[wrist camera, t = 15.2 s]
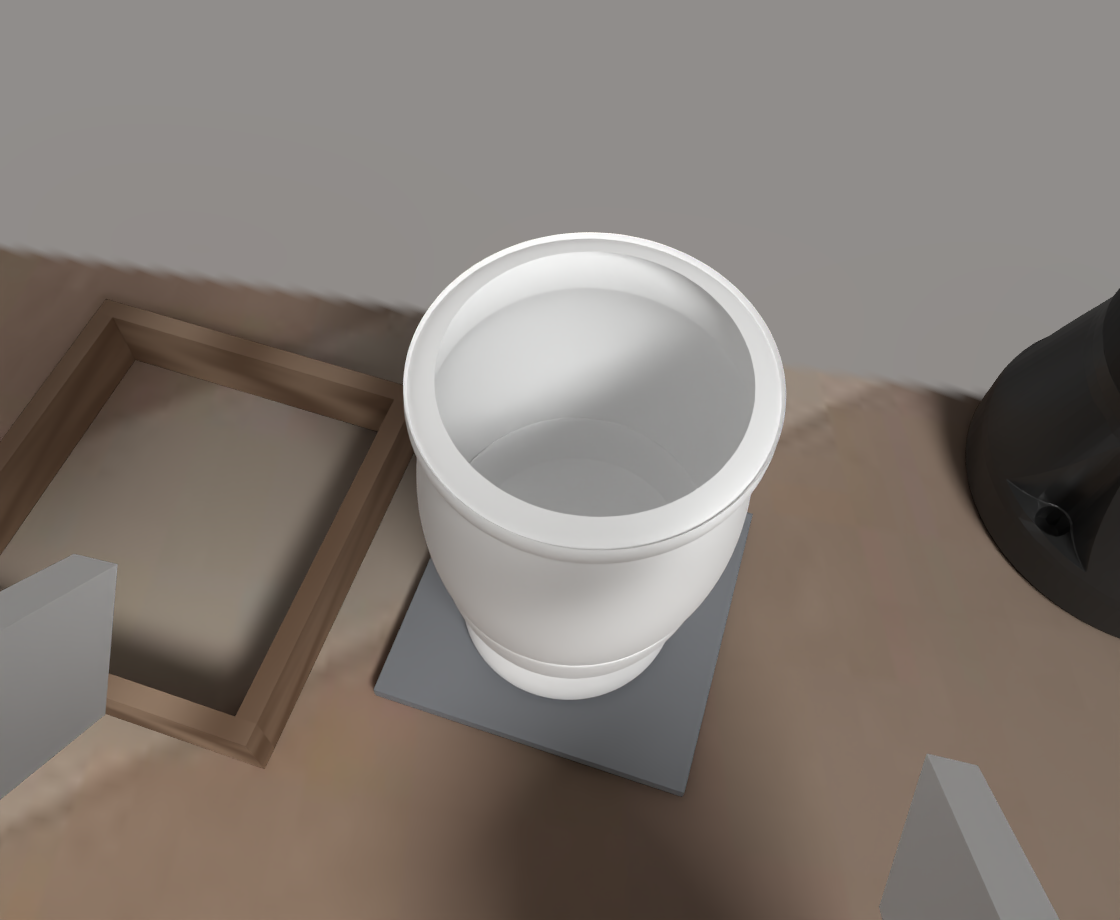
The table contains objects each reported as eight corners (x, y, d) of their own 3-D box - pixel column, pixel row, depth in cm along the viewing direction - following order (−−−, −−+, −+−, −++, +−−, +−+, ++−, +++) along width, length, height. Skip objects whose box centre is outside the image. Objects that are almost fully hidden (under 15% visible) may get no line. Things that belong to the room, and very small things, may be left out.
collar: (424, 429, 44) (419, 389, 41) (264, 769, 36) (245, 746, 33) (128, 341, 46) (106, 298, 43) (-86, 646, 38) (-130, 616, 35)
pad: (749, 520, 42) (752, 514, 42) (681, 796, 36) (684, 792, 36) (483, 442, 44) (483, 434, 43) (375, 694, 38) (373, 689, 37)
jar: (507, 448, 43) (504, 185, 30) (734, 537, 41) (834, 298, 28) (388, 663, 38) (324, 457, 25) (642, 776, 36) (714, 616, 23)
